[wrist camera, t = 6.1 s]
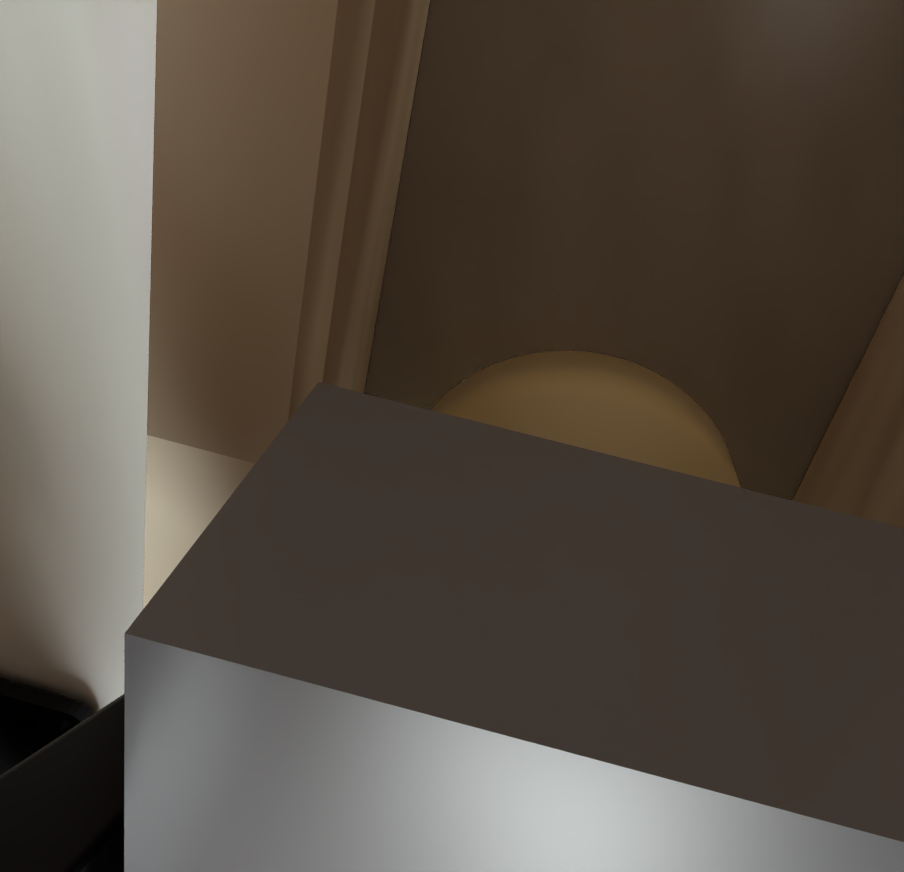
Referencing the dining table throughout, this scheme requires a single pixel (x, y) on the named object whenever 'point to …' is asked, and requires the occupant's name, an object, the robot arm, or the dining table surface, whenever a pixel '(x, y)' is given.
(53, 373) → the dining table surface
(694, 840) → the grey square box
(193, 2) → the keyhole board
